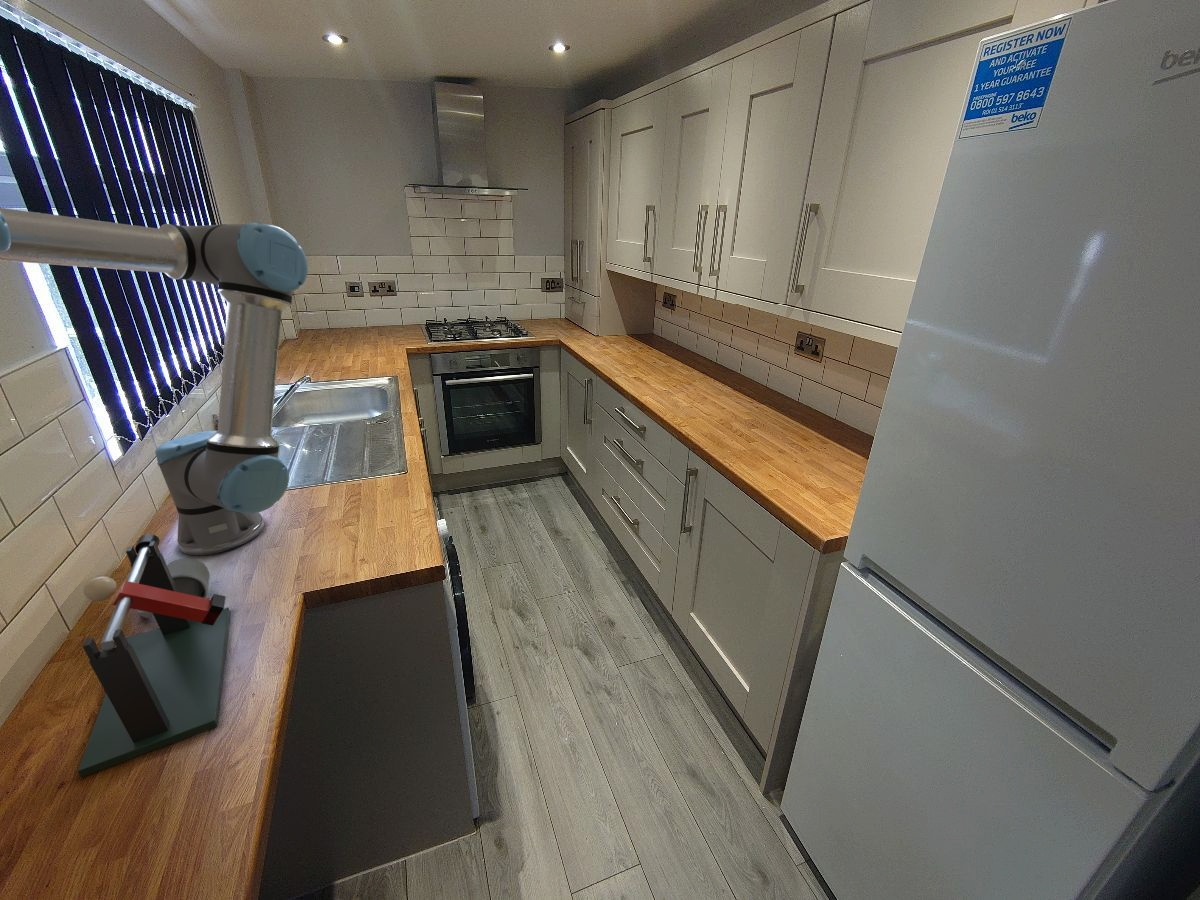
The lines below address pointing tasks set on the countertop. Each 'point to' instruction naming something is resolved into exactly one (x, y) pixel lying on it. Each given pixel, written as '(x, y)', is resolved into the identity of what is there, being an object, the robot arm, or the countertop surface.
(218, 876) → the countertop surface
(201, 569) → the ceramic mug
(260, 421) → the robot arm
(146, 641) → the foosball frame
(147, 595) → the foosball rod
